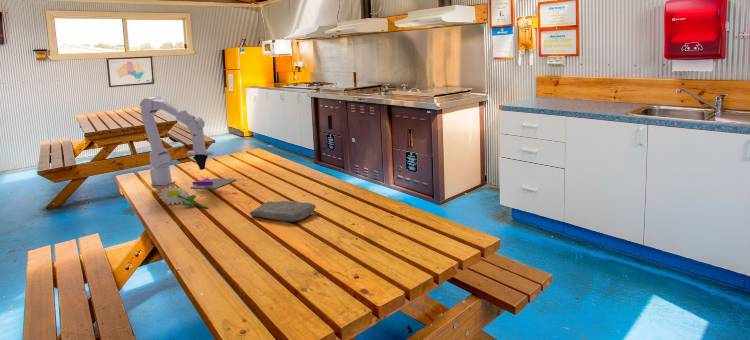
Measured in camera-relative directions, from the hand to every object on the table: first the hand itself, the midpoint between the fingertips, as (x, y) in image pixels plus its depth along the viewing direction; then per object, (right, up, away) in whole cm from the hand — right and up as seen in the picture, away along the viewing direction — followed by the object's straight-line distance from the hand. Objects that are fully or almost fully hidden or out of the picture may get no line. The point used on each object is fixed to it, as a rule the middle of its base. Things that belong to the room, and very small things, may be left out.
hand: (202, 169), depth 261 cm
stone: (+50, -19, -57) cm, 77 cm away
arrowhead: (-2, -6, +2) cm, 7 cm away
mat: (+6, -7, 0) cm, 10 cm away
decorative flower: (+4, -16, -32) cm, 36 cm away
